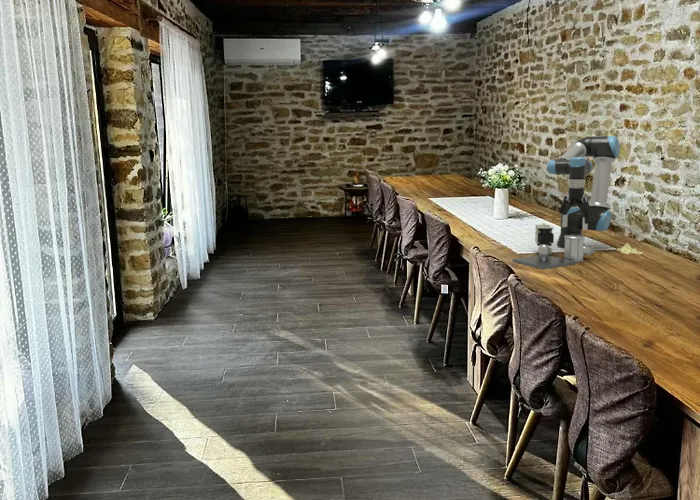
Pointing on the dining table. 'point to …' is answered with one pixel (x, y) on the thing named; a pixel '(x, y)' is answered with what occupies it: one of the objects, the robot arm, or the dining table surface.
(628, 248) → the cloth
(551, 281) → the dining table surface
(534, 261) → the grey metal plate
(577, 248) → the grey metal fitting
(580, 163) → the robot arm
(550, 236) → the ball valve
